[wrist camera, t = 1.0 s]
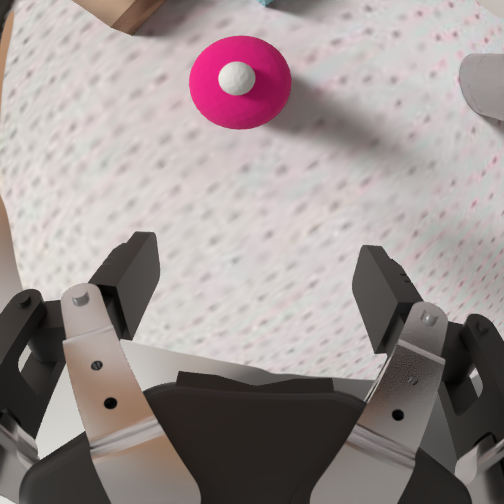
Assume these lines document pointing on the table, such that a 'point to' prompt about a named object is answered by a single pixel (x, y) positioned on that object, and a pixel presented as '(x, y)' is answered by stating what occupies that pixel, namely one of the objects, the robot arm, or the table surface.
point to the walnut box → (121, 12)
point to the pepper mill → (240, 82)
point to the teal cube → (265, 2)
